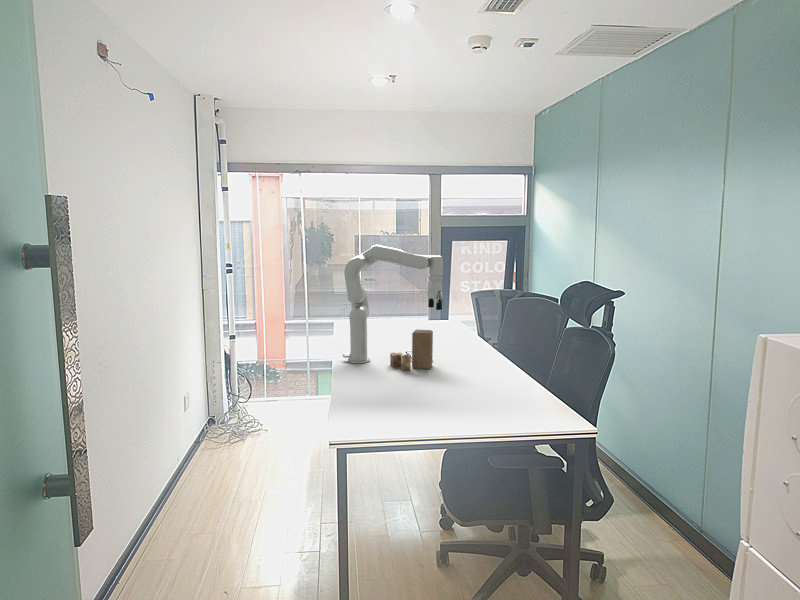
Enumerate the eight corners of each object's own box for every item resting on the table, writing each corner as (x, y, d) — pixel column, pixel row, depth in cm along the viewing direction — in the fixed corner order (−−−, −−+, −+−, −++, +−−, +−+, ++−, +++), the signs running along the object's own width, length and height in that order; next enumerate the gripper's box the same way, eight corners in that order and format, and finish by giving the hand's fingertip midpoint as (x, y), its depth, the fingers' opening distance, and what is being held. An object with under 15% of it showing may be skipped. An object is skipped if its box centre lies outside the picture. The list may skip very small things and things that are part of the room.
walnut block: (392, 368, 306) (392, 355, 305) (390, 365, 312) (390, 352, 311) (403, 367, 307) (403, 354, 306) (400, 364, 313) (400, 352, 312)
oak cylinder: (401, 371, 299) (401, 356, 298) (401, 368, 304) (401, 354, 303) (410, 371, 299) (410, 356, 298) (410, 368, 304) (410, 354, 303)
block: (429, 369, 302) (430, 333, 300) (411, 368, 304) (411, 332, 302) (432, 365, 312) (433, 329, 309) (414, 364, 314) (415, 329, 311)
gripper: (422, 276, 317) (422, 306, 320) (436, 279, 302) (435, 311, 304) (434, 276, 320) (434, 306, 323) (448, 279, 304) (448, 310, 307)
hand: (434, 308), depth 313 cm, fingers open, 9 cm apart
